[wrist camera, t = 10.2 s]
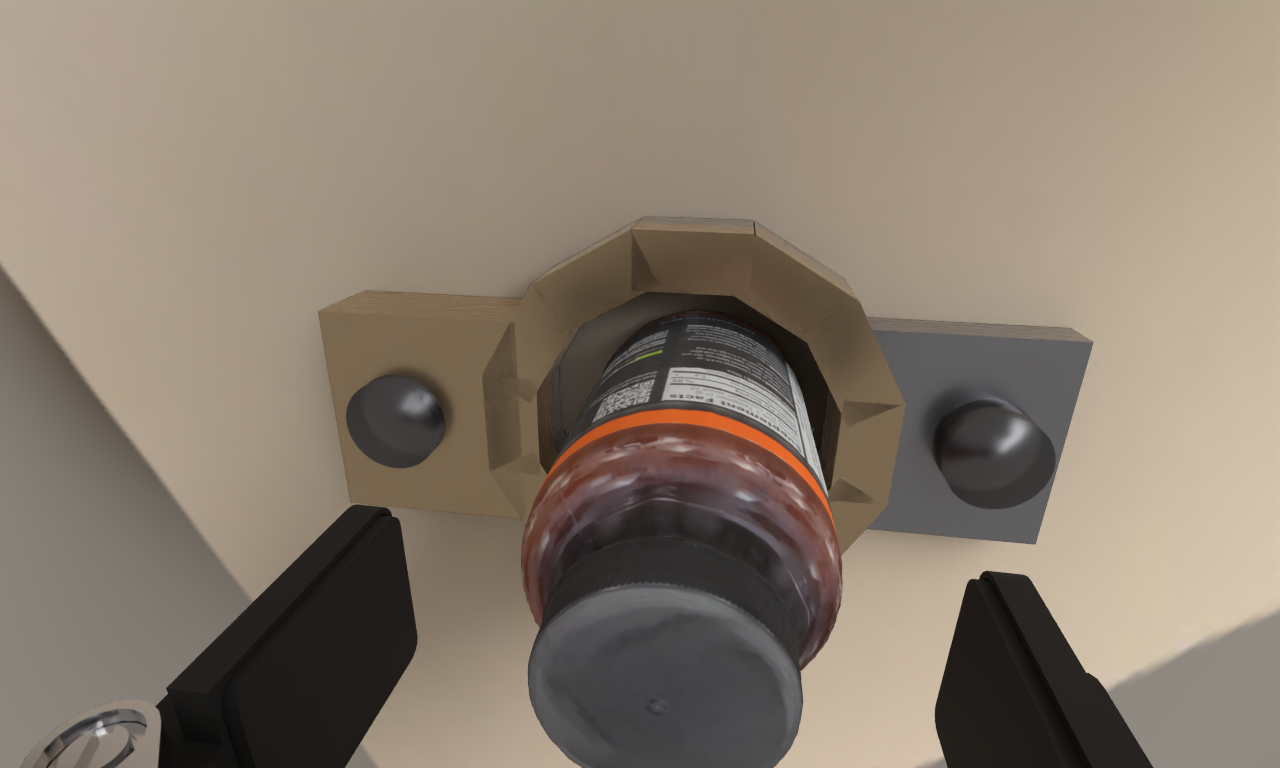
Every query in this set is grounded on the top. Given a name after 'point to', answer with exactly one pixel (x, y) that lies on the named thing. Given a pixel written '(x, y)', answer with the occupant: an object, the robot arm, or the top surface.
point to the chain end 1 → (531, 346)
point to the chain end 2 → (956, 417)
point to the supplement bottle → (682, 556)
